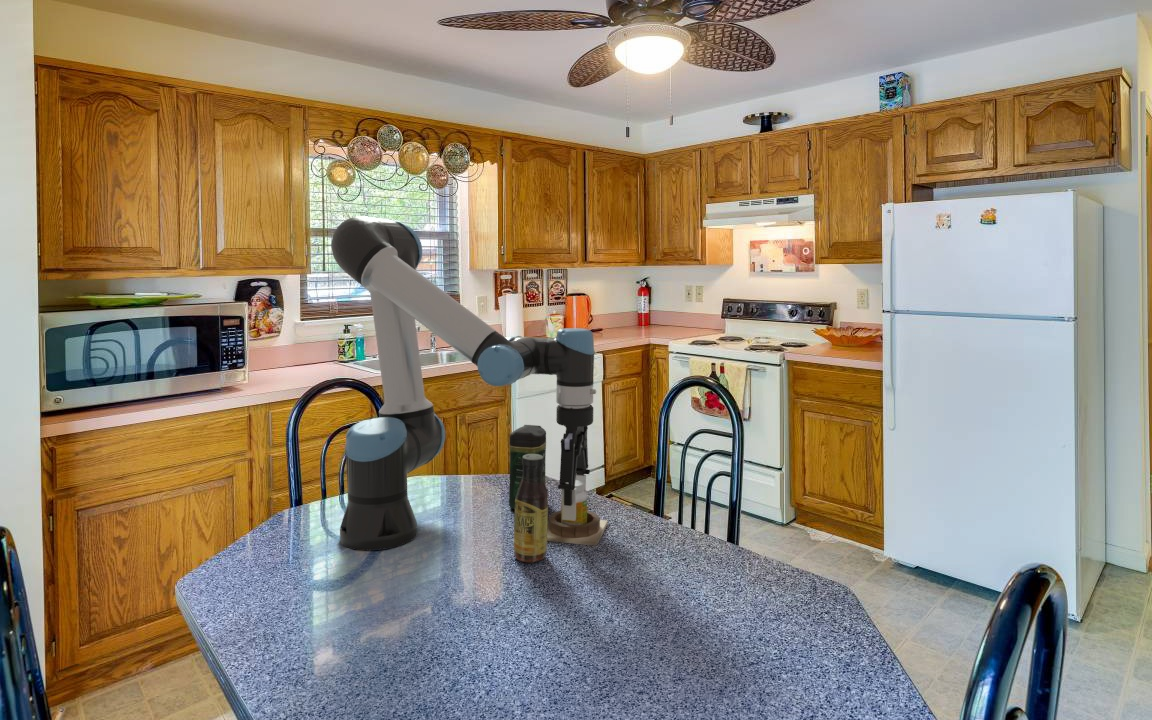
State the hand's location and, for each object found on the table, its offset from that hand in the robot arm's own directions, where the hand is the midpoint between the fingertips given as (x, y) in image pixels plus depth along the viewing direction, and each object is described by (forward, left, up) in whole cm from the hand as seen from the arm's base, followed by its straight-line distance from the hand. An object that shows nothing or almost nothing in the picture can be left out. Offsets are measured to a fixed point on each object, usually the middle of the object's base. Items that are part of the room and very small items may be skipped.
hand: (574, 511), depth 143 cm
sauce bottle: (-5, -15, -5) cm, 16 cm away
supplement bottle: (0, 0, -4) cm, 4 cm away
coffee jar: (-14, +13, -5) cm, 20 cm away
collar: (0, 0, -4) cm, 4 cm away
